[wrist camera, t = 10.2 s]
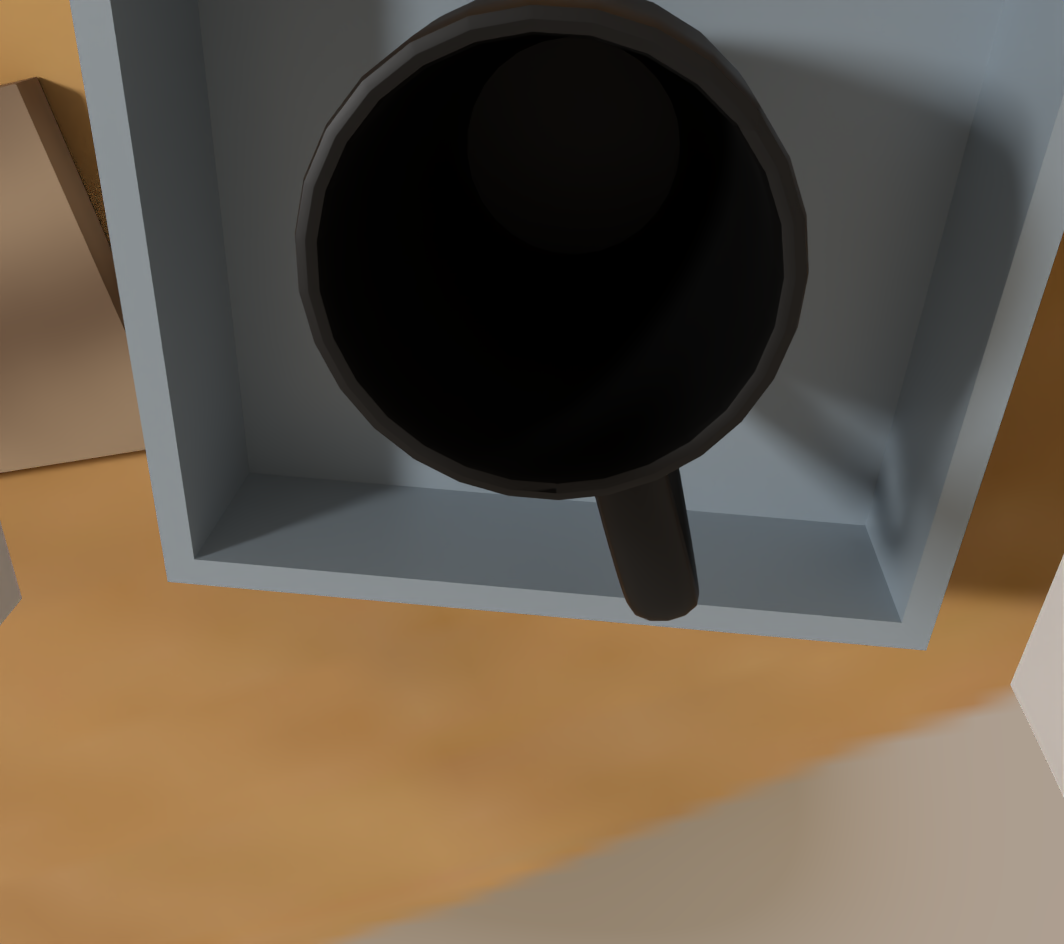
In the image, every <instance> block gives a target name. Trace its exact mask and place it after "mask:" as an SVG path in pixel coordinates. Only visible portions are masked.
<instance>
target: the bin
mask: <svg viewBox="0 0 1064 944" xmlns="http://www.w3.org/2000/svg"><path fill="white" fill-rule="evenodd" d="M472 1H474V0H70V6H71V12H72V18H73V24H74V30H75V35H76V41H77V47H78V53H79V59H80V65H81V71H82V77H83V83H84V89H85V95H86V101H87V106H88V112H89V118H90V124H91V130H92V136H93V142H94V148H95V154H96V160H97V166H98V171H99V177H100V183H101V189H102V195H103V201H104V207H105V213H106V219H107V225H108V231H109V237H110V242H111V248H112V254H113V260H114V266H115V272H116V278H117V284H118V290H119V296H120V302H121V307H122V313H123V319H124V325H125V331H126V337H127V343H128V349H129V355H130V361H131V367H132V373H133V378H134V384H135V390H136V396H137V402H138V408H139V414H140V420H141V426H142V432H143V438H144V443H145V449H146V455H147V461H148V467H149V473H150V479H151V485H152V491H153V497H154V503H155V509H156V514H157V520H158V526H159V532H160V538H161V544H162V550H163V556H164V562H165V568H166V574H167V579H168V582H177V583H188V584H199V585H210V586H221V587H232V588H243V589H254V590H265V591H276V592H287V593H298V594H309V595H320V596H331V597H342V598H354V599H365V600H376V601H387V602H398V603H409V604H420V605H431V606H442V607H453V608H464V609H475V610H486V611H497V612H508V613H519V614H530V615H541V616H552V617H563V618H574V619H585V620H596V621H607V622H618V623H629V624H640V625H651V626H662V627H673V628H684V629H696V630H707V631H718V632H729V633H740V634H751V635H762V636H773V637H784V638H795V639H806V640H817V641H828V642H839V643H850V644H861V645H872V646H883V647H894V648H905V649H916V650H926V649H927V646H928V643H929V640H930V637H931V634H932V631H933V628H934V625H935V622H936V619H937V616H938V613H939V610H940V607H941V604H942V601H943V597H944V594H945V591H946V588H947V585H948V582H949V579H950V576H951V573H952V570H953V567H954V564H955V561H956V558H957V555H958V552H959V549H960V546H961V543H962V540H963V537H964V534H965V530H966V527H967V524H968V521H969V518H970V515H971V512H972V509H973V506H974V503H975V500H976V497H977V494H978V491H979V488H980V485H981V482H982V479H983V476H984V473H985V470H986V466H987V463H988V460H989V457H990V454H991V451H992V448H993V445H994V442H995V439H996V436H997V433H998V430H999V427H1000V424H1001V421H1002V418H1003V415H1004V412H1005V409H1006V406H1007V403H1008V399H1009V396H1010V393H1011V390H1012V387H1013V384H1014V381H1015V378H1016V375H1017V372H1018V369H1019V366H1020V363H1021V360H1022V357H1023V354H1024V351H1025V348H1026V345H1027V342H1028V339H1029V336H1030V332H1031V329H1032V326H1033V323H1034V320H1035V317H1036V314H1037V311H1038V308H1039V305H1040V302H1041V299H1042V296H1043V293H1044V290H1045V287H1046V284H1047V281H1048V278H1049V275H1050V272H1051V268H1052V265H1053V262H1054V259H1055V256H1056V253H1057V250H1058V247H1059V244H1060V241H1061V238H1062V235H1063V232H1064V0H647V1H650V2H654V3H655V4H657V5H659V6H660V7H662V8H663V9H665V10H667V11H668V12H670V13H671V14H673V15H675V16H676V17H678V18H679V19H681V20H682V21H684V22H686V23H687V24H689V25H690V26H692V27H694V28H695V29H697V30H698V31H700V32H701V33H702V34H703V35H704V36H705V37H706V38H707V39H708V40H709V41H710V42H711V43H712V44H713V45H714V46H715V47H716V48H717V49H718V50H719V51H720V53H721V54H722V55H723V56H724V57H725V58H726V59H727V60H728V61H729V62H730V63H731V64H732V65H733V66H734V67H735V68H736V69H737V70H738V71H739V73H740V74H741V75H742V77H743V78H744V80H745V81H746V83H747V84H748V86H749V88H750V89H751V91H752V92H753V94H754V96H755V97H756V99H757V101H758V102H759V104H760V106H761V107H762V109H763V111H764V113H765V114H766V116H767V118H768V120H769V121H770V123H771V125H772V127H773V128H774V130H775V132H776V133H777V135H778V137H779V139H780V140H781V142H782V144H783V146H784V147H785V149H786V151H787V153H788V154H789V156H790V158H791V162H792V165H793V169H794V172H795V176H796V179H797V183H798V186H799V190H800V193H801V197H802V200H803V204H804V207H805V211H806V214H807V236H808V262H809V274H808V279H807V284H806V289H805V294H804V299H803V304H802V309H801V314H800V319H799V324H798V328H797V330H796V333H795V335H794V337H793V339H792V341H791V344H790V346H789V348H788V350H787V352H786V355H785V357H784V359H783V361H782V363H781V365H780V368H779V370H778V372H777V374H776V376H775V378H774V380H773V381H772V383H771V384H770V385H769V387H768V388H767V389H766V391H765V392H764V393H763V394H762V396H761V397H760V398H759V400H758V401H757V402H756V404H755V405H754V406H753V408H752V409H751V410H750V412H749V413H748V414H747V415H746V417H745V418H744V419H743V421H742V422H741V423H740V424H739V425H737V426H736V427H735V428H734V429H733V430H732V431H730V432H729V433H728V434H727V435H726V436H724V437H723V438H722V439H721V440H720V441H719V442H717V443H716V444H715V445H714V446H713V447H712V448H710V449H709V450H708V451H707V452H706V453H705V454H703V455H702V456H700V457H699V458H697V459H695V460H693V461H691V462H689V463H688V464H686V465H684V466H682V467H680V468H679V470H680V475H681V481H682V487H683V493H684V498H685V504H686V510H687V516H688V522H689V527H690V533H691V539H692V545H693V551H694V558H695V564H696V571H697V577H698V585H699V598H698V603H697V606H696V607H695V608H694V609H692V610H691V611H690V612H689V613H688V614H687V615H686V616H683V617H679V618H676V619H673V620H670V621H649V620H646V619H644V618H641V617H639V616H636V615H635V614H634V613H633V611H632V610H631V608H630V607H629V606H628V604H627V602H626V600H625V598H624V595H623V592H622V589H621V586H620V583H619V580H618V576H617V573H616V570H615V567H614V563H613V560H612V556H611V553H610V549H609V546H608V542H607V539H606V535H605V532H604V528H603V525H602V521H601V517H600V514H599V510H598V506H597V502H596V499H595V496H594V497H585V498H575V499H566V500H549V499H538V498H526V497H515V496H507V495H503V494H500V493H496V492H493V491H489V490H485V489H482V488H478V487H475V486H471V485H468V484H464V483H461V482H458V481H456V480H454V479H452V478H450V477H448V476H446V475H444V474H442V473H440V472H438V471H436V470H434V469H432V468H430V467H428V466H426V465H424V464H423V463H421V462H419V461H417V460H415V459H413V458H412V457H411V456H409V455H408V454H407V453H405V452H404V451H403V450H402V449H400V448H399V447H398V446H396V445H395V444H394V443H393V442H391V441H390V440H389V439H387V438H386V437H385V436H384V435H382V434H381V433H380V432H378V431H377V430H376V429H374V428H373V426H372V425H371V424H370V423H369V422H368V421H367V420H366V418H365V417H364V416H363V415H362V414H361V413H360V411H359V410H358V409H357V408H356V407H355V406H354V404H353V403H352V402H351V401H350V400H349V399H348V398H347V396H346V395H345V394H344V393H343V392H342V391H341V389H340V388H339V386H338V384H337V383H336V381H335V379H334V377H333V375H332V374H331V372H330V370H329V368H328V366H327V365H326V363H325V361H324V359H323V357H322V356H321V354H320V352H319V350H318V348H317V347H316V345H315V343H314V340H313V336H312V333H311V330H310V327H309V323H308V320H307V317H306V313H305V310H304V307H303V303H302V300H301V297H300V294H299V288H298V274H297V260H296V246H295V228H296V222H297V216H298V209H299V203H300V197H301V191H302V185H303V178H304V176H305V173H306V171H307V169H308V166H309V164H310V161H311V159H312V157H313V154H314V152H315V150H316V147H317V145H318V142H319V140H320V138H321V135H322V133H323V130H324V128H325V126H326V124H327V122H328V121H329V120H330V118H331V117H332V116H333V114H334V113H335V112H336V110H337V109H338V108H339V106H340V105H341V104H342V102H343V101H344V100H345V98H346V97H347V96H348V94H349V93H350V92H351V90H352V89H353V88H354V86H355V85H356V84H357V82H358V81H359V80H360V78H361V77H362V76H363V75H364V74H366V73H367V72H368V71H369V70H371V69H372V68H373V67H374V66H375V65H377V64H378V63H379V62H380V61H382V60H383V59H384V58H385V57H387V56H388V55H389V54H390V53H391V52H393V51H394V50H395V49H396V48H398V47H399V46H400V45H401V44H403V43H404V42H405V41H406V40H408V39H409V38H410V37H411V36H413V35H414V34H416V33H417V32H418V31H420V30H421V29H423V28H424V27H425V26H427V25H428V24H430V23H431V22H432V21H434V20H436V19H437V18H439V17H441V16H442V15H444V14H446V13H449V12H451V11H453V10H455V9H457V8H459V7H461V6H464V5H466V4H468V3H470V2H472Z"/></svg>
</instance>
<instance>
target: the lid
mask: <svg viewBox="0 0 1064 944" xmlns="http://www.w3.org/2000/svg"><path fill="white" fill-rule="evenodd" d="M140 450H146V449H145V443H144V438H143V432H142V426H141V420H140V414H139V408H138V402H137V396H136V390H135V384H134V378H133V373H132V367H131V361H130V355H129V349H128V343H127V337H126V331H125V325H124V319H123V313H122V307H121V302H120V296H119V290H118V284H117V278H116V272H115V266H114V260H113V254H112V250H111V248H110V246H109V243H108V241H107V239H106V236H105V234H104V232H103V229H102V227H101V225H100V222H99V220H98V218H97V215H96V213H95V211H94V208H93V206H92V204H91V201H90V199H89V197H88V194H87V192H86V190H85V187H84V185H83V183H82V180H81V178H80V176H79V173H78V171H77V169H76V167H75V164H74V162H73V160H72V157H71V155H70V153H69V150H68V148H67V146H66V143H65V141H64V139H63V136H62V134H61V132H60V129H59V127H58V125H57V122H56V120H55V118H54V115H53V113H52V111H51V108H50V106H49V104H48V101H47V99H46V97H45V94H44V92H43V90H42V87H41V85H40V83H39V80H38V78H37V77H34V78H30V79H25V80H21V81H17V82H13V83H8V84H4V85H0V473H2V472H8V471H14V470H21V469H27V468H33V467H40V466H46V465H52V464H58V463H65V462H71V461H77V460H83V459H90V458H96V457H102V456H108V455H115V454H121V453H127V452H134V451H140Z"/></svg>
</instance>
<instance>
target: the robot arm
mask: <svg viewBox="0 0 1064 944" xmlns="http://www.w3.org/2000/svg"><path fill="white" fill-rule="evenodd" d="M21 599H22V597H21V594H20V590H19V586H18V583H17V579H16V576H15V572H14V569H13V565H12V562H11V558H10V554H9V551H8V547H7V544H6V540H5V537H4V533H3V530H2V526H1V522H0V625H1V624H2V622H3V621H4V620H5V619H6V617H7V616H8V615H9V614H10V612H11V611H12V610H13V609H14V608H15V606H16V605H17V604H18V603H19V601H20V600H21ZM1010 685H1011V687H1012V689H1013V691H1014V693H1015V696H1016V698H1017V700H1018V702H1019V704H1020V706H1021V708H1022V710H1023V712H1024V715H1025V717H1026V719H1027V721H1028V723H1029V725H1030V727H1031V729H1032V731H1033V734H1034V736H1035V738H1036V740H1037V742H1038V744H1039V746H1040V748H1041V750H1042V752H1043V755H1044V757H1045V759H1046V761H1047V763H1048V765H1049V767H1050V770H1051V772H1052V774H1053V776H1054V778H1055V780H1056V782H1057V784H1058V786H1059V788H1060V791H1061V793H1062V795H1063V797H1064V555H1063V557H1062V560H1061V562H1060V565H1059V567H1058V570H1057V572H1056V574H1055V577H1054V579H1053V582H1052V584H1051V587H1050V589H1049V592H1048V594H1047V596H1046V599H1045V601H1044V604H1043V606H1042V609H1041V611H1040V614H1039V616H1038V618H1037V621H1036V623H1035V626H1034V628H1033V631H1032V633H1031V636H1030V638H1029V640H1028V643H1027V645H1026V648H1025V650H1024V653H1023V655H1022V658H1021V660H1020V662H1019V665H1018V667H1017V670H1016V672H1015V675H1014V677H1013V680H1012V682H1011V684H1010Z"/></svg>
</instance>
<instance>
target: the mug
mask: <svg viewBox="0 0 1064 944" xmlns="http://www.w3.org/2000/svg"><path fill="white" fill-rule="evenodd" d="M295 246H296V260H297V274H298V288H299V294H300V297H301V300H302V303H303V307H304V310H305V313H306V317H307V320H308V323H309V327H310V330H311V333H312V336H313V340H314V343H315V345H316V347H317V348H318V350H319V352H320V354H321V356H322V357H323V359H324V361H325V363H326V365H327V366H328V368H329V370H330V372H331V374H332V375H333V377H334V379H335V381H336V383H337V384H338V386H339V388H340V389H341V391H342V392H343V393H344V394H345V395H346V396H347V398H348V399H349V400H350V401H351V402H352V403H353V404H354V406H355V407H356V408H357V409H358V410H359V411H360V413H361V414H362V415H363V416H364V417H365V418H366V420H367V421H368V422H369V423H370V424H371V425H372V426H373V428H374V429H376V430H377V431H378V432H380V433H381V434H382V435H384V436H385V437H386V438H387V439H389V440H390V441H391V442H393V443H394V444H395V445H396V446H398V447H399V448H400V449H402V450H403V451H404V452H405V453H407V454H408V455H409V456H411V457H412V458H413V459H415V460H417V461H419V462H421V463H423V464H424V465H426V466H428V467H430V468H432V469H434V470H436V471H438V472H440V473H442V474H444V475H446V476H448V477H450V478H452V479H454V480H456V481H458V482H461V483H464V484H468V485H471V486H475V487H478V488H482V489H485V490H489V491H493V492H496V493H500V494H503V495H507V496H515V497H526V498H538V499H549V500H566V499H575V498H585V497H594V496H595V499H596V502H597V506H598V510H599V514H600V517H601V521H602V525H603V528H604V532H605V535H606V539H607V542H608V546H609V549H610V553H611V556H612V560H613V563H614V567H615V570H616V573H617V576H618V580H619V583H620V586H621V589H622V592H623V595H624V598H625V600H626V602H627V604H628V606H629V607H630V608H631V610H632V611H633V613H634V614H635V615H636V616H639V617H641V618H644V619H646V620H649V621H670V620H673V619H676V618H679V617H683V616H686V615H687V614H688V613H689V612H690V611H691V610H692V609H694V608H695V607H696V606H697V603H698V598H699V585H698V577H697V571H696V564H695V558H694V551H693V545H692V539H691V533H690V527H689V522H688V516H687V510H686V504H685V498H684V493H683V487H682V481H681V475H680V470H679V468H680V467H682V466H684V465H686V464H688V463H689V462H691V461H693V460H695V459H697V458H699V457H700V456H702V455H703V454H705V453H706V452H707V451H708V450H709V449H710V448H712V447H713V446H714V445H715V444H716V443H717V442H719V441H720V440H721V439H722V438H723V437H724V436H726V435H727V434H728V433H729V432H730V431H732V430H733V429H734V428H735V427H736V426H737V425H739V424H740V423H741V422H742V421H743V419H744V418H745V417H746V415H747V414H748V413H749V412H750V410H751V409H752V408H753V406H754V405H755V404H756V402H757V401H758V400H759V398H760V397H761V396H762V394H763V393H764V392H765V391H766V389H767V388H768V387H769V385H770V384H771V383H772V381H773V380H774V378H775V376H776V374H777V372H778V370H779V368H780V365H781V363H782V361H783V359H784V357H785V355H786V352H787V350H788V348H789V346H790V344H791V341H792V339H793V337H794V335H795V333H796V330H797V328H798V324H799V319H800V314H801V309H802V304H803V299H804V294H805V289H806V284H807V279H808V274H809V262H808V236H807V214H806V211H805V207H804V204H803V200H802V197H801V193H800V190H799V186H798V183H797V179H796V176H795V172H794V169H793V165H792V162H791V158H790V156H789V154H788V153H787V151H786V149H785V147H784V146H783V144H782V142H781V140H780V139H779V137H778V135H777V133H776V132H775V130H774V128H773V127H772V125H771V123H770V121H769V120H768V118H767V116H766V114H765V113H764V111H763V109H762V107H761V106H760V104H759V102H758V101H757V99H756V97H755V96H754V94H753V92H752V91H751V89H750V88H749V86H748V84H747V83H746V81H745V80H744V78H743V77H742V75H741V74H740V73H739V71H738V70H737V69H736V68H735V67H734V66H733V65H732V64H731V63H730V62H729V61H728V60H727V59H726V58H725V57H724V56H723V55H722V54H721V53H720V51H719V50H718V49H717V48H716V47H715V46H714V45H713V44H712V43H711V42H710V41H709V40H708V39H707V38H706V37H705V36H704V35H703V34H702V33H701V32H700V31H698V30H697V29H695V28H694V27H692V26H690V25H689V24H687V23H686V22H684V21H682V20H681V19H679V18H678V17H676V16H675V15H673V14H671V13H670V12H668V11H667V10H665V9H663V8H662V7H660V6H659V5H657V4H655V3H654V2H650V1H647V0H474V1H472V2H470V3H468V4H466V5H464V6H461V7H459V8H457V9H455V10H453V11H451V12H449V13H446V14H444V15H442V16H441V17H439V18H437V19H436V20H434V21H432V22H431V23H430V24H428V25H427V26H425V27H424V28H423V29H421V30H420V31H418V32H417V33H416V34H414V35H413V36H411V37H410V38H409V39H408V40H406V41H405V42H404V43H403V44H401V45H400V46H399V47H398V48H396V49H395V50H394V51H393V52H391V53H390V54H389V55H388V56H387V57H385V58H384V59H383V60H382V61H380V62H379V63H378V64H377V65H375V66H374V67H373V68H372V69H371V70H369V71H368V72H367V73H366V74H364V75H363V76H362V77H361V78H360V80H359V81H358V82H357V84H356V85H355V86H354V88H353V89H352V90H351V92H350V93H349V94H348V96H347V97H346V98H345V100H344V101H343V102H342V104H341V105H340V106H339V108H338V109H337V110H336V112H335V113H334V114H333V116H332V117H331V118H330V120H329V121H328V122H327V124H326V126H325V128H324V130H323V133H322V135H321V138H320V140H319V142H318V145H317V147H316V150H315V152H314V154H313V157H312V159H311V161H310V164H309V166H308V169H307V171H306V173H305V176H304V178H303V185H302V191H301V197H300V203H299V209H298V216H297V222H296V228H295Z"/></svg>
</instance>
